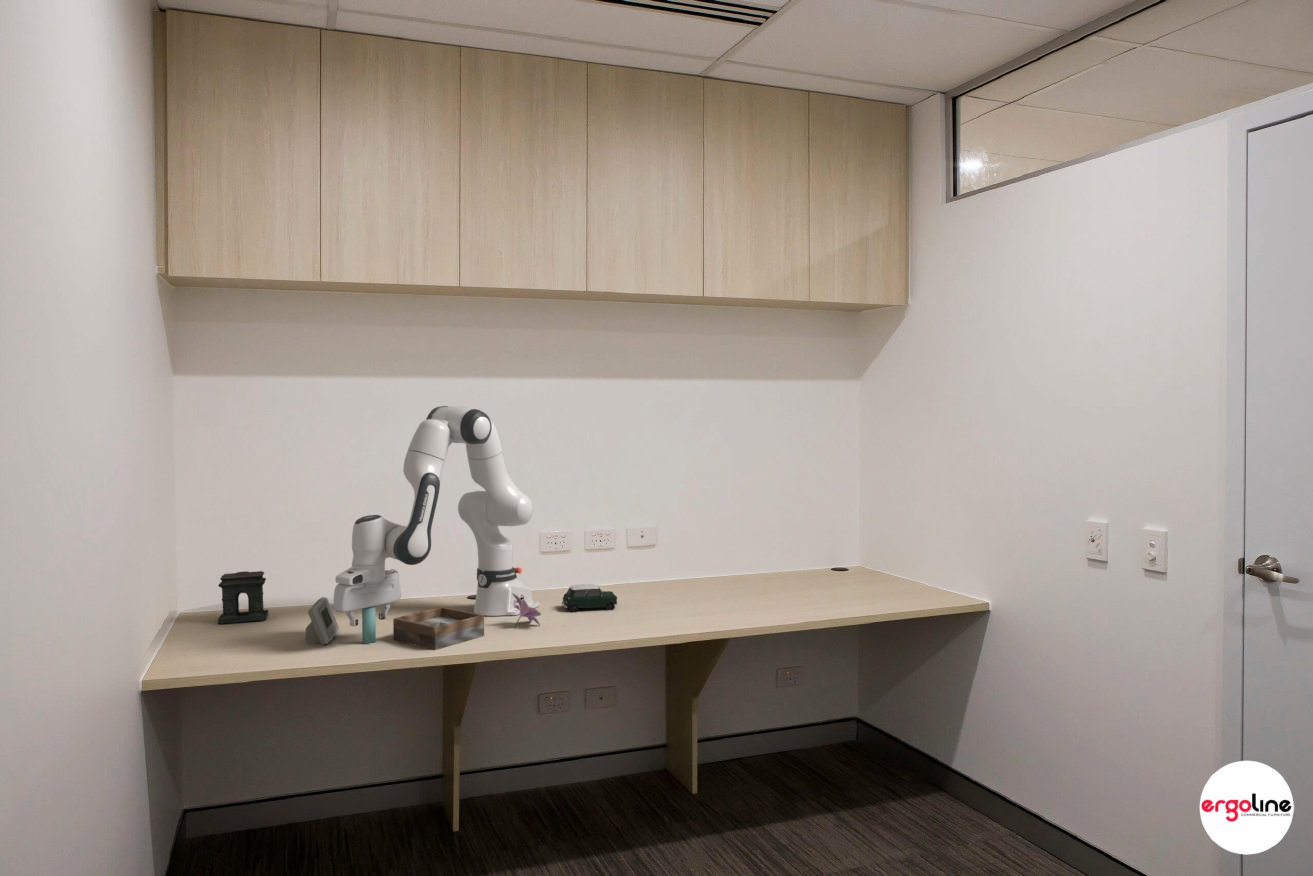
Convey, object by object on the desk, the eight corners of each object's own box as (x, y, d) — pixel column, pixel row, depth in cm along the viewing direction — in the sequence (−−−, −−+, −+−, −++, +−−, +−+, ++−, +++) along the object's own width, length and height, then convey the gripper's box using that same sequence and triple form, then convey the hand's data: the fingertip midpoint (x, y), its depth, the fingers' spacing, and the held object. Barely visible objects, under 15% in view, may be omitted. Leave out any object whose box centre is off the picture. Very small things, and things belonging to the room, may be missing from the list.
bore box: (442, 626, 262) (442, 606, 262) (484, 635, 252) (484, 615, 252) (393, 639, 248) (393, 618, 247) (435, 649, 237) (435, 628, 237)
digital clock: (327, 646, 240) (326, 608, 240) (294, 646, 241) (294, 608, 240) (349, 631, 257) (348, 595, 256) (319, 631, 257) (318, 595, 256)
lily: (540, 635, 257) (551, 604, 261) (503, 621, 255) (515, 590, 258) (533, 637, 268) (543, 608, 271) (497, 624, 266) (508, 594, 269)
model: (268, 614, 276) (267, 568, 276) (267, 621, 268) (266, 573, 267) (220, 618, 271) (219, 571, 271) (217, 625, 263) (216, 576, 262)
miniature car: (619, 610, 285) (619, 586, 284) (564, 613, 280) (564, 589, 280) (613, 604, 293) (613, 580, 293) (560, 607, 289) (560, 583, 288)
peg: (370, 640, 247) (370, 605, 247) (378, 642, 245) (378, 606, 245) (359, 642, 244) (359, 607, 244) (367, 644, 242) (367, 609, 242)
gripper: (391, 567, 254) (391, 614, 254) (330, 577, 237) (330, 627, 238) (405, 569, 250) (405, 617, 251) (344, 580, 234) (344, 631, 234)
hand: (368, 622), depth 244 cm, fingers open, 8 cm apart
